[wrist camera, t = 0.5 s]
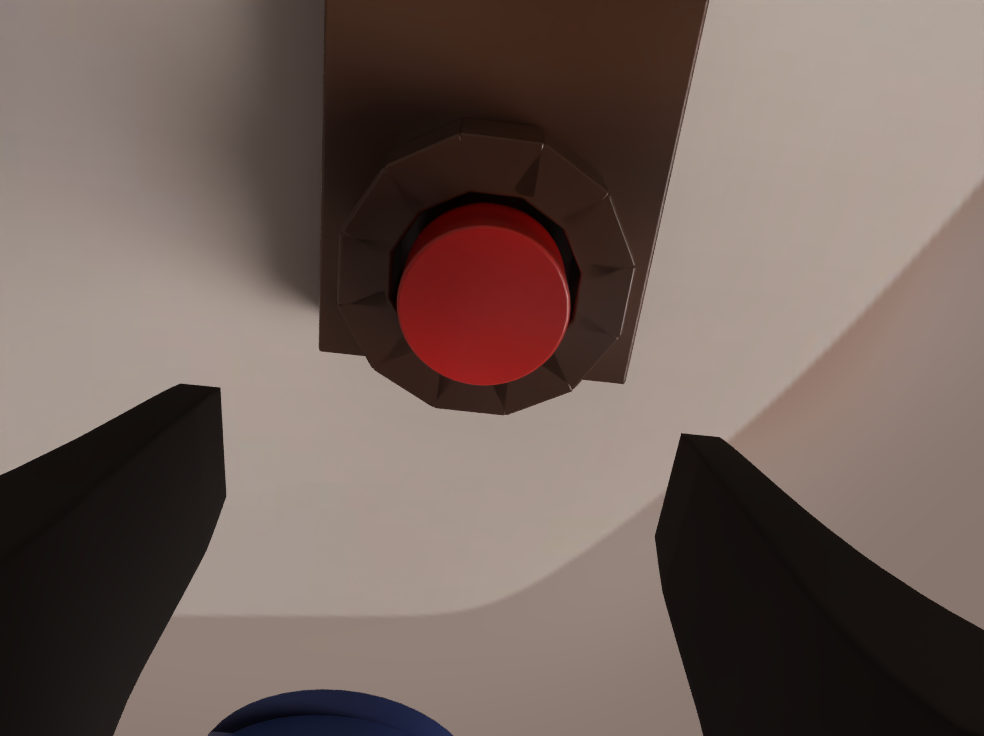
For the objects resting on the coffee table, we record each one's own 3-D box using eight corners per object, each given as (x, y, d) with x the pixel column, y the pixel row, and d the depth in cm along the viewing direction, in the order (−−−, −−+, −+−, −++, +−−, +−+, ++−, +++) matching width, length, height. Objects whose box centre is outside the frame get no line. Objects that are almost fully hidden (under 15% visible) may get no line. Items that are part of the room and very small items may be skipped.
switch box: (612, 356, 23) (634, 429, 19) (334, 325, 22) (302, 394, 19) (696, -44, 18) (744, -46, 14) (344, -90, 18) (305, -104, 14)
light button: (551, 359, 19) (556, 395, 17) (400, 343, 18) (391, 377, 17) (577, 211, 17) (584, 236, 15) (410, 192, 17) (401, 215, 15)
